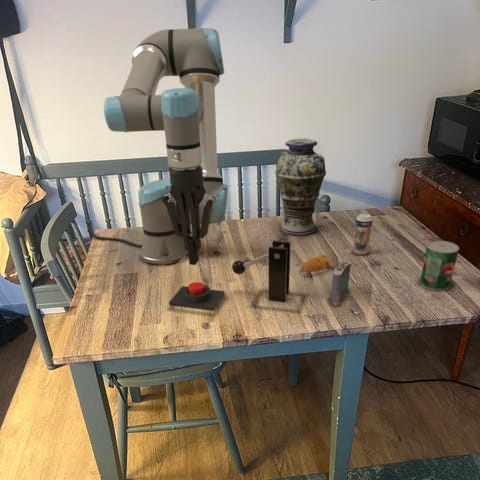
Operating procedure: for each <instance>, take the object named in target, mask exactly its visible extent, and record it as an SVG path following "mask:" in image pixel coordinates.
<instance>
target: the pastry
mask: <svg viewBox="0 0 480 480" xmlns="http://www.w3.org/2000/svg"><path fill="white" fill-rule="evenodd" d="M332 268H333V263H332V260H331V258H330V256H328V255H327V254H318V255H315V256H312V257H310V258H308V259H307V260H306V261H304V263H303V264H302V265H301V266H300V269H301V271H303V272H306V273H313V272H319V271H324V270H326V269H329V270H330V269H332Z"/></svg>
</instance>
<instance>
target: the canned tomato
mask: <svg viewBox="0 0 480 480" xmlns="http://www.w3.org/2000/svg"><path fill="white" fill-rule="evenodd" d="M459 251H460V247H459V246H458V245H457V244H456V243H454V242H451V241H446V240H432V241H429V242H427V244H426V249H425V253H424V259H423V264H422V269H421V274H420V279H419V284H420V285H421V286H422V287H423V288H425V289H428V290H432V291H446V290H448V289H449V288H451V284H452V280H453V277H454V272H455V267H456V262H457V258H458V255H459Z"/></svg>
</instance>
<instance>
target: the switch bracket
mask: <svg viewBox="0 0 480 480" xmlns="http://www.w3.org/2000/svg"><path fill="white" fill-rule="evenodd" d="M291 243H292V241H286V240H285V241H284V240H272V246H268V253H269V259H268V301H271V302H279V303H286V302H287V296H289V295H290V279H291ZM282 244H284V246H285V248H281V247H277V246H279V245H282Z"/></svg>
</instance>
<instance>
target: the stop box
mask: <svg viewBox="0 0 480 480" xmlns="http://www.w3.org/2000/svg"><path fill="white" fill-rule="evenodd" d="M225 293H226V292H225V291H224V290H217V289H211V288H210V286H209V285H206V284H204V293H202V294H197V295H193V294H190V293H189V287H188V286H185V285H184V286H181V287H180V289H179V290H178V291H177V292H176V293H175V294H174V296H172V298H171V299H170V300H169V301H168V305H169V306H172V307H180V308H188V309H195V310H203V311H210V312H211V311H215V309H216V308H217V306H218V304H219V303H220V302H221V301H222V299H223V298H224V296H225Z"/></svg>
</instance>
